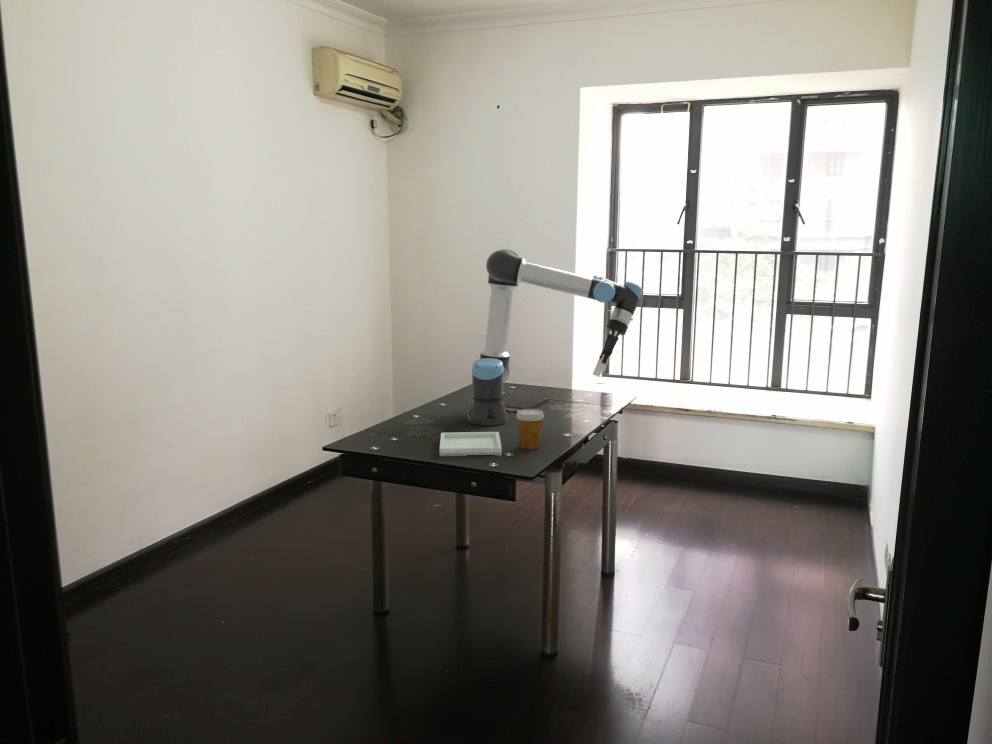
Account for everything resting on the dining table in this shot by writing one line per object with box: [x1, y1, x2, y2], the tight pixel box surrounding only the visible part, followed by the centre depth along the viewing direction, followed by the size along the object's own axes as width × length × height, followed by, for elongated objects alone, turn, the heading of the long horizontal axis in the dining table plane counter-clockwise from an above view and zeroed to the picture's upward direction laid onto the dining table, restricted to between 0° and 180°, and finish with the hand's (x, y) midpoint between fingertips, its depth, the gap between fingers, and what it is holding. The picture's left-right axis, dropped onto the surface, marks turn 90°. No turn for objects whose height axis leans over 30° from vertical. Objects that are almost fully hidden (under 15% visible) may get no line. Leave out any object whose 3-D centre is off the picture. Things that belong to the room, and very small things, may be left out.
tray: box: [439, 431, 503, 457], centre depth 252 cm, size 20×20×2 cm
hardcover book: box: [503, 394, 550, 413], centre depth 314 cm, size 16×23×2 cm
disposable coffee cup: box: [515, 408, 545, 450], centre depth 252 cm, size 10×10×12 cm
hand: (597, 373), depth 282 cm, fingers open, 13 cm apart
